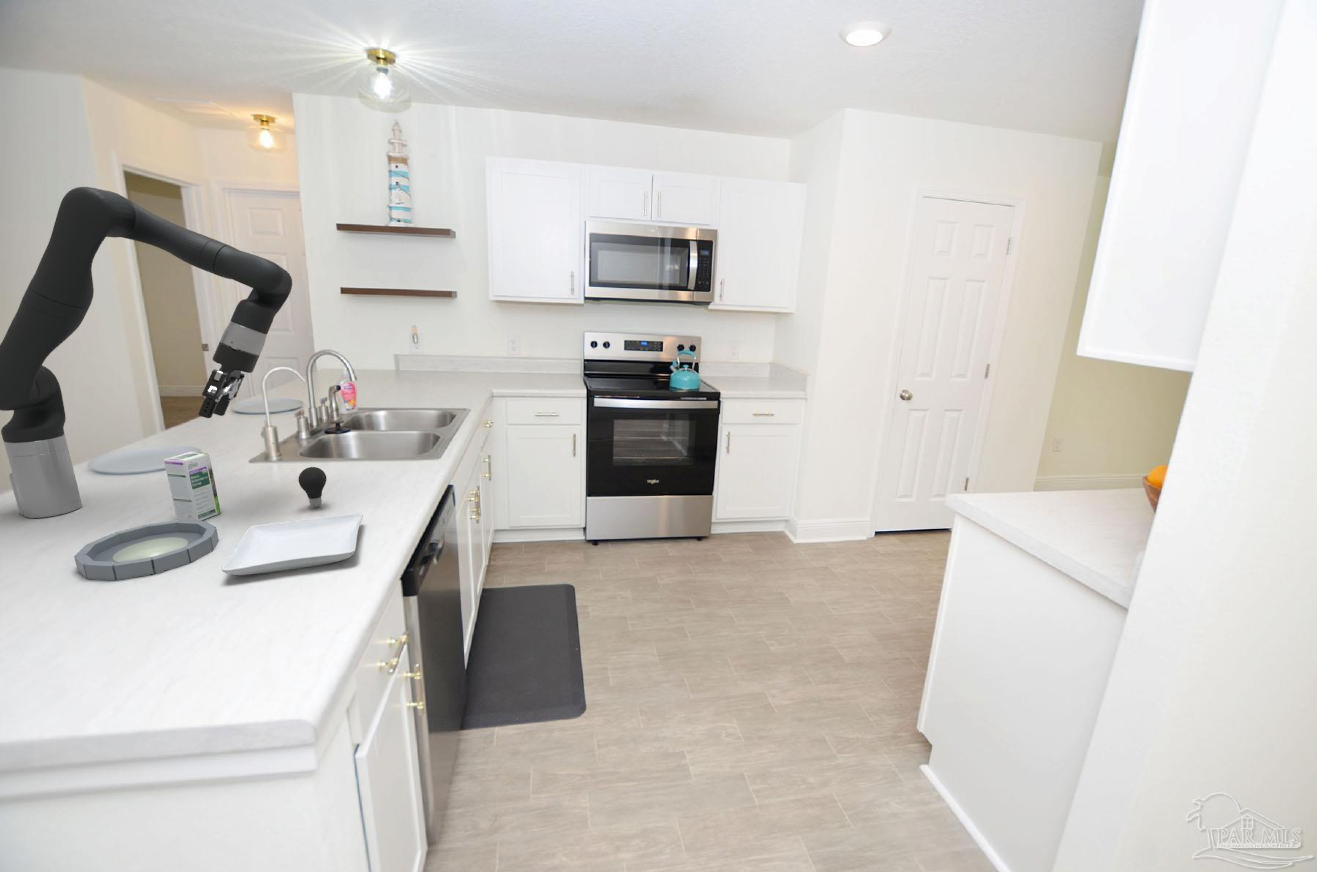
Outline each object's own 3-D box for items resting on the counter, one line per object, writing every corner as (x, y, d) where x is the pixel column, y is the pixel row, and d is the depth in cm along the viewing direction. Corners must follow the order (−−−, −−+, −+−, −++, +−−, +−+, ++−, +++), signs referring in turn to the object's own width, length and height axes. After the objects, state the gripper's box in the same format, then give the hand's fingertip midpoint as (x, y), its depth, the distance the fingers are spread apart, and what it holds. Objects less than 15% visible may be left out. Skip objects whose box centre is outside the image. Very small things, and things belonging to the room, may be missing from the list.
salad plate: (250, 539, 119) (248, 523, 118) (364, 525, 127) (362, 510, 126) (221, 587, 100) (218, 570, 99) (357, 567, 108) (355, 551, 107)
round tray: (47, 577, 101) (43, 562, 101) (149, 530, 121) (146, 518, 120) (156, 582, 101) (152, 567, 100) (241, 534, 120) (239, 522, 119)
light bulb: (301, 513, 132) (295, 472, 129) (303, 505, 136) (297, 465, 134) (329, 509, 134) (324, 469, 131) (330, 501, 139) (325, 462, 136)
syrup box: (197, 523, 125) (185, 460, 121) (175, 520, 126) (162, 457, 122) (221, 513, 130) (210, 452, 127) (200, 510, 132) (188, 450, 128)
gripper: (231, 342, 130) (202, 408, 129) (209, 338, 117) (178, 411, 116) (267, 355, 133) (240, 420, 132) (251, 352, 120) (220, 424, 119)
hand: (211, 415), depth 124 cm, fingers open, 8 cm apart
